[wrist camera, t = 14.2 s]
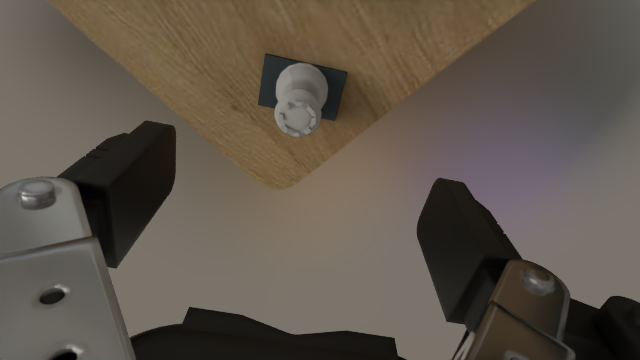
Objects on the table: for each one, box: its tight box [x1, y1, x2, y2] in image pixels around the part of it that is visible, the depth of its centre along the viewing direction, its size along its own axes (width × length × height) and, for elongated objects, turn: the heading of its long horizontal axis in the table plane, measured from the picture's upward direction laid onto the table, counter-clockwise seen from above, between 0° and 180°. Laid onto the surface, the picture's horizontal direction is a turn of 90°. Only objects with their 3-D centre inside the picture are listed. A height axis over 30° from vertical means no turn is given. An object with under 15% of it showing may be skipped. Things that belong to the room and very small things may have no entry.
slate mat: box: [258, 54, 347, 121], centre depth 32 cm, size 7×4×1 cm, turn 78°
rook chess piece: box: [275, 63, 328, 137], centre depth 28 cm, size 4×4×8 cm
